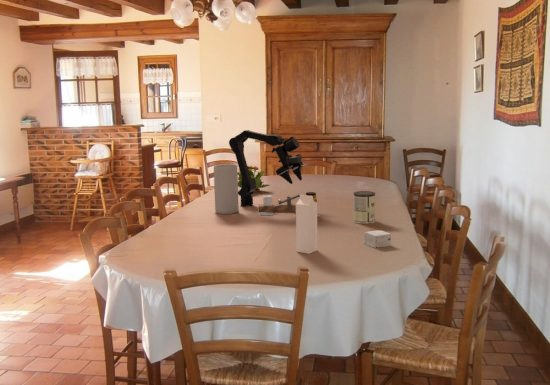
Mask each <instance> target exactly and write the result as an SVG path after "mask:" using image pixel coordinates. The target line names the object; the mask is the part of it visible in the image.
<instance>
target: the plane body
mask: <svg viewBox="0 0 550 385" xmlns="http://www.w3.org/2000/svg"><path fill="white" fill-rule="evenodd" d="M290 197H291V196H287V197H286V199H287V202H286V203H282V204H279V203H272V206H264V203H263V204H258V213H260V212H273V213H275V212H278V213H279V212H296V203H292V200H291V198H290Z"/></svg>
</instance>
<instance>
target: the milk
mask: <svg viewBox="0 0 550 385" xmlns="http://www.w3.org/2000/svg"><path fill="white" fill-rule="evenodd" d="M299 195H300V197H299V199H298V200H297V202H296V203H295V204H296V211H295V227H296V228H295V230H296V232H295V236H296V238H295V240H296V246H295V247H296V250H295V251H296V252H297V253H303V254H308V255H309V254H312V253H314V252H315V253H316V252H317V251H318V216H317V215H318V203H316V202H315V201H314V200H313V196H308V195H306V194H299Z"/></svg>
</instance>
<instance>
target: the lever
mask: <svg viewBox="0 0 550 385" xmlns="http://www.w3.org/2000/svg"><path fill="white" fill-rule="evenodd" d="M300 195H301V194H299V193H298V194H296V195H295V194H294V195H292V196H289V197H290V198H291V201H293V200H295V199H297V198H300ZM277 201H278V202H277V204H285V203H287V198H285V199H283V200H282V199H280V198H279V199H277Z"/></svg>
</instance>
